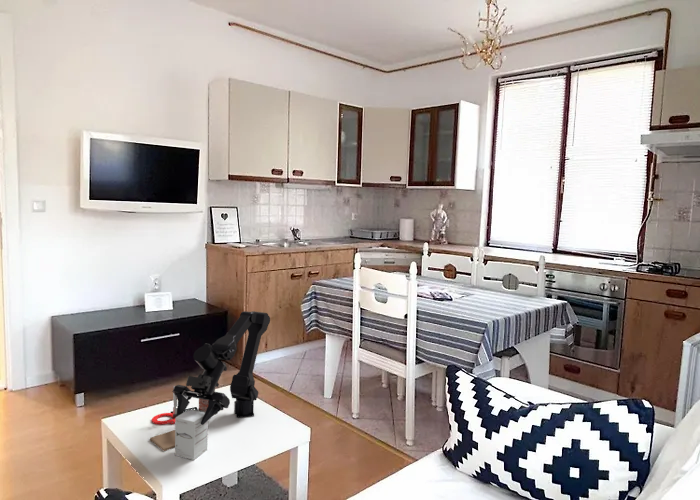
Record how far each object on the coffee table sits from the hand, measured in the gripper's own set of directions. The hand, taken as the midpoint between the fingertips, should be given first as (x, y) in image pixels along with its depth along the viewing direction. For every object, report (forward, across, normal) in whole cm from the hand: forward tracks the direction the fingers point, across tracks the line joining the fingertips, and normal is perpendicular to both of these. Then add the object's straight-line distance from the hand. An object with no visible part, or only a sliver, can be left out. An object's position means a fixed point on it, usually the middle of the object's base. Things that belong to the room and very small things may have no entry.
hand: (189, 421), depth 155 cm
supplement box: (+7, 0, +9) cm, 11 cm away
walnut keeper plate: (+4, -11, +11) cm, 16 cm away
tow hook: (-4, -23, +20) cm, 31 cm away
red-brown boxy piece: (-13, -13, +28) cm, 34 cm away
